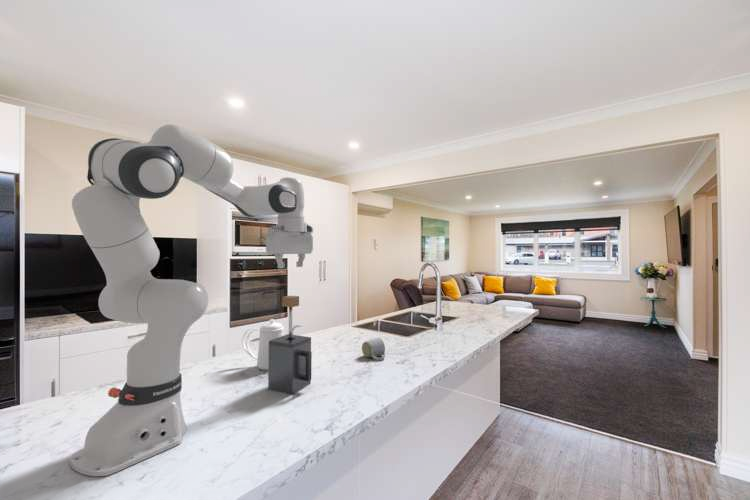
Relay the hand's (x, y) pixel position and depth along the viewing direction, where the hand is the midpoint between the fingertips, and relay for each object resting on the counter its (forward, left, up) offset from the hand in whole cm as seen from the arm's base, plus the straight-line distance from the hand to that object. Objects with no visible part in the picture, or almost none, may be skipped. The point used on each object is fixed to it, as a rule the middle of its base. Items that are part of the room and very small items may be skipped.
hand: (290, 267), depth 114 cm
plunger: (0, 0, -29) cm, 29 cm away
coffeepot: (+13, +19, -41) cm, 47 cm away
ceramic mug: (+42, -13, -41) cm, 60 cm away
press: (0, -1, -41) cm, 41 cm away
